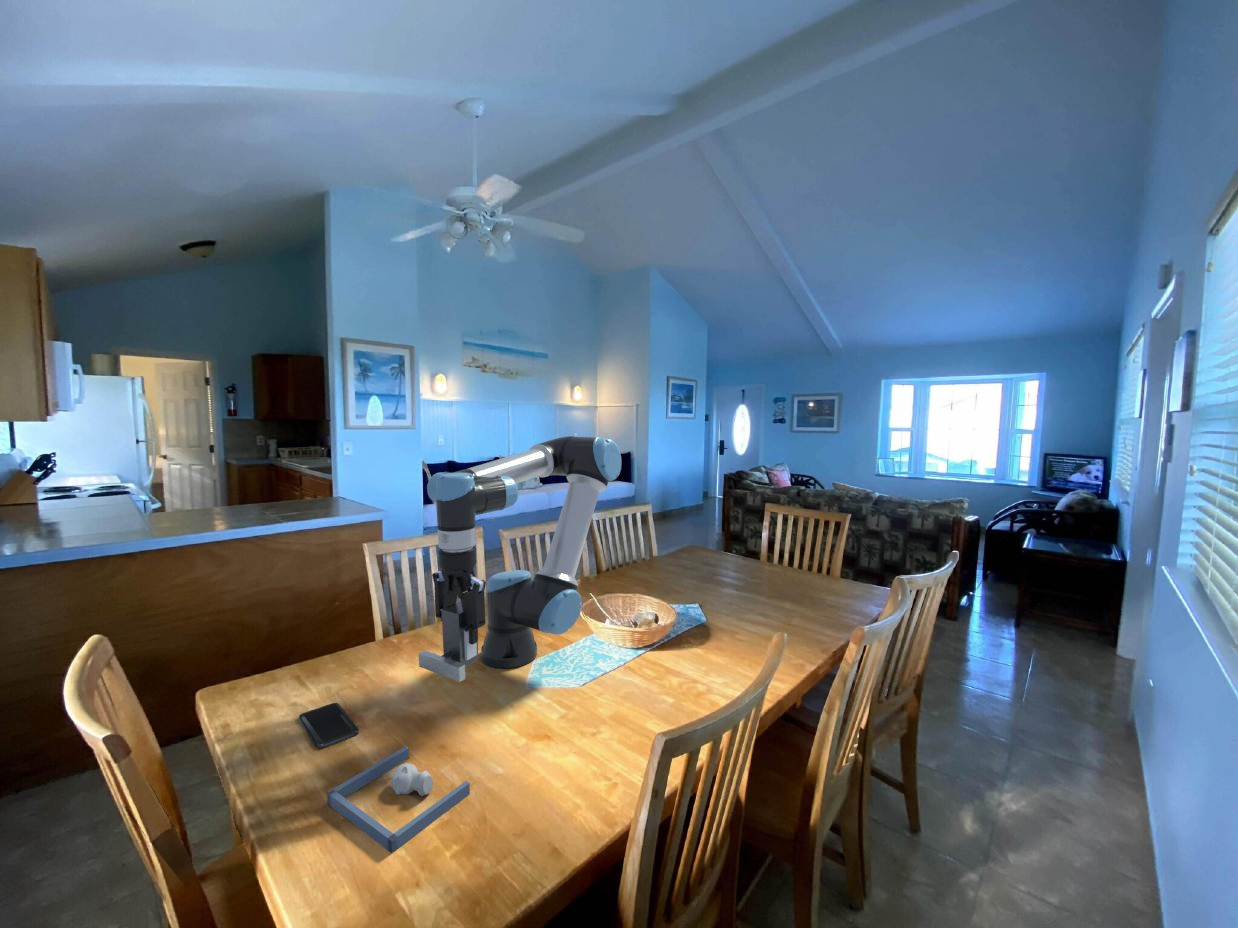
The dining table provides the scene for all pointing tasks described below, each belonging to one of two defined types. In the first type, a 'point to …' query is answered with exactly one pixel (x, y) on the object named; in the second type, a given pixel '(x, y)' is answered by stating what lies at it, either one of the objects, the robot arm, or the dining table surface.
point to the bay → (372, 826)
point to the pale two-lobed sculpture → (411, 780)
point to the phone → (328, 725)
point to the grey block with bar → (450, 647)
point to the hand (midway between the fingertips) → (461, 653)
